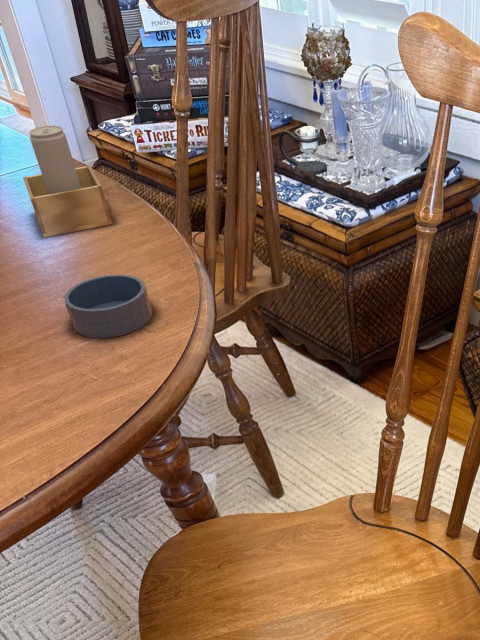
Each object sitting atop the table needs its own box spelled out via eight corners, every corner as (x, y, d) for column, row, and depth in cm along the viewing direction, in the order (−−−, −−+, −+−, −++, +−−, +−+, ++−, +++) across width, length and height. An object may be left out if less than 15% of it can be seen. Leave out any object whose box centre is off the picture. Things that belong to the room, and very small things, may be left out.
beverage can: (53, 222, 117) (24, 136, 109) (59, 210, 120) (31, 126, 112) (86, 219, 117) (60, 134, 109) (90, 207, 121) (65, 123, 113)
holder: (43, 237, 115) (30, 198, 111) (35, 214, 121) (22, 177, 117) (112, 224, 117) (101, 185, 114) (101, 202, 124) (90, 165, 120)
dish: (77, 344, 91) (68, 317, 89) (70, 310, 98) (61, 283, 95) (158, 327, 94) (150, 300, 91) (145, 294, 100) (138, 268, 98)
